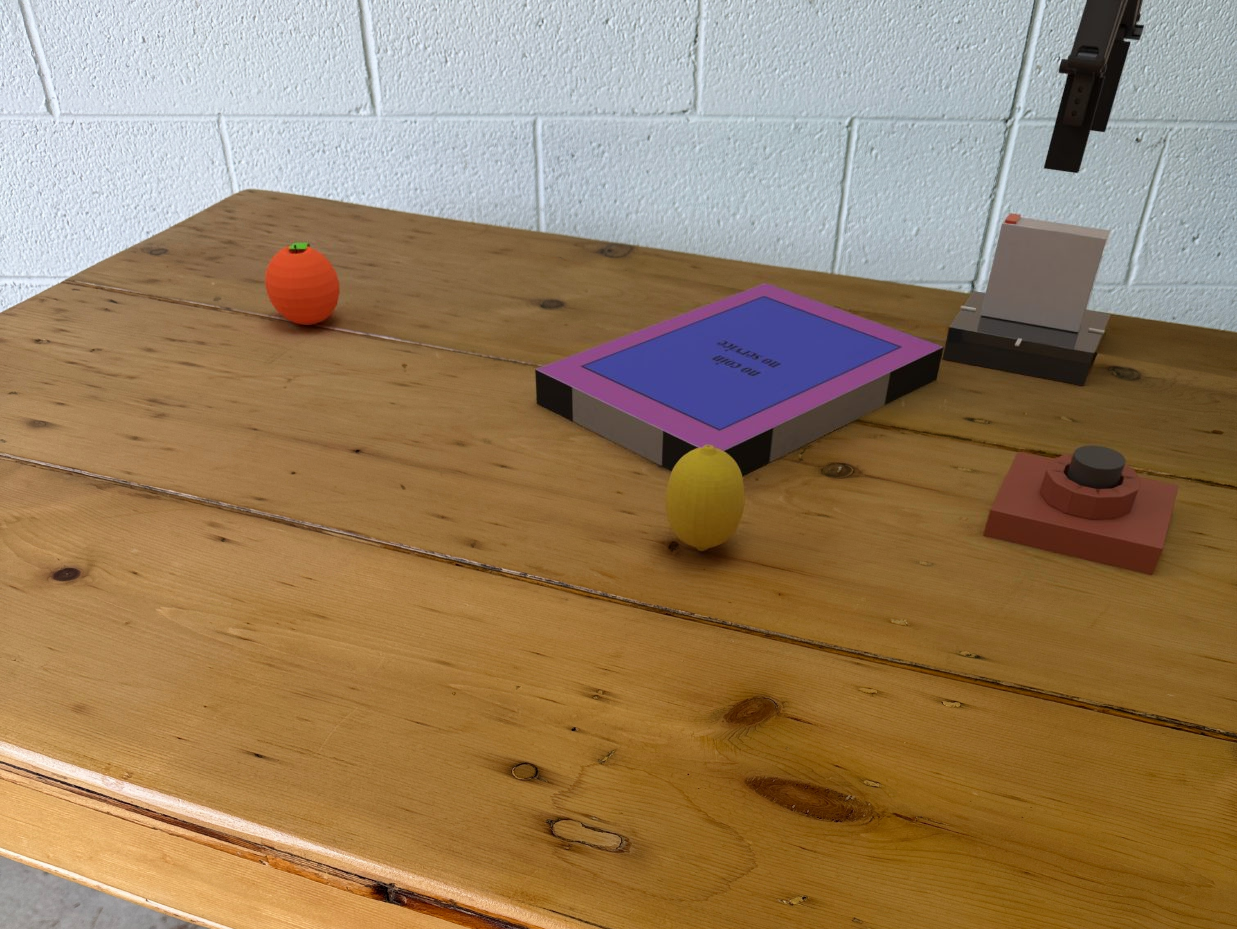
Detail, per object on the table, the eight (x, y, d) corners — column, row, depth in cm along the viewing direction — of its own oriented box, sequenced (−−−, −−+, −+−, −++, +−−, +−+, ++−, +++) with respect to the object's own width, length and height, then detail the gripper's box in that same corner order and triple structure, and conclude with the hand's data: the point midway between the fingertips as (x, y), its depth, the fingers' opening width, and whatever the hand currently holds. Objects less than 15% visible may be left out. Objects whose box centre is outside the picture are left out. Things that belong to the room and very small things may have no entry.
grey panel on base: (1082, 323, 103) (1111, 227, 97) (1078, 332, 101) (1107, 235, 95) (985, 307, 105) (1008, 212, 100) (980, 315, 104) (1002, 220, 98)
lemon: (746, 536, 82) (756, 433, 76) (731, 576, 78) (740, 470, 72) (673, 525, 83) (678, 422, 77) (655, 564, 79) (658, 459, 73)
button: (1121, 474, 81) (1129, 451, 80) (1113, 496, 79) (1122, 473, 78) (1071, 463, 83) (1078, 441, 81) (1062, 485, 80) (1069, 462, 79)
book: (943, 346, 99) (714, 455, 84) (936, 380, 101) (711, 491, 86) (766, 282, 110) (535, 369, 95) (763, 314, 112) (536, 403, 97)
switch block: (1168, 511, 85) (1187, 462, 82) (1152, 575, 78) (1172, 525, 76) (1010, 477, 88) (1024, 429, 86) (982, 536, 82) (996, 486, 79)
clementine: (286, 304, 112) (271, 228, 107) (354, 305, 112) (342, 229, 107) (265, 335, 107) (248, 257, 102) (336, 337, 107) (323, 258, 102)
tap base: (1104, 340, 108) (1115, 306, 105) (1082, 393, 99) (1093, 357, 97) (969, 316, 112) (976, 283, 109) (936, 365, 103) (944, 331, 101)
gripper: (1137, -202, 88) (1058, 109, 103) (1084, -183, 72) (999, 181, 87) (1238, -198, 86) (1142, 119, 101) (1206, -177, 70) (1097, 196, 85)
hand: (1075, 149), depth 94 cm, fingers open, 13 cm apart
